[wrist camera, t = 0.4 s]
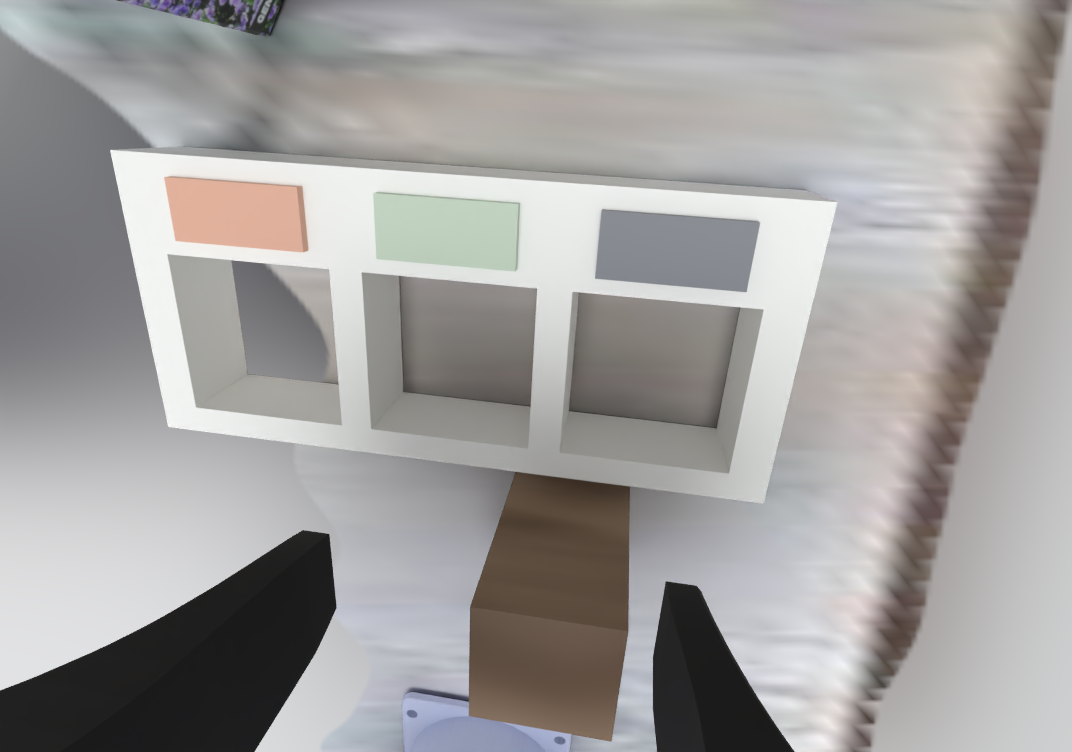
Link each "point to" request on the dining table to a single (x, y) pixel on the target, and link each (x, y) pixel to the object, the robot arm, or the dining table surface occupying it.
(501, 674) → the plug
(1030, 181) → the dining table surface
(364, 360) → the socket strip
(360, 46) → the dining table surface
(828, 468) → the dining table surface
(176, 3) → the ink box
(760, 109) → the dining table surface
